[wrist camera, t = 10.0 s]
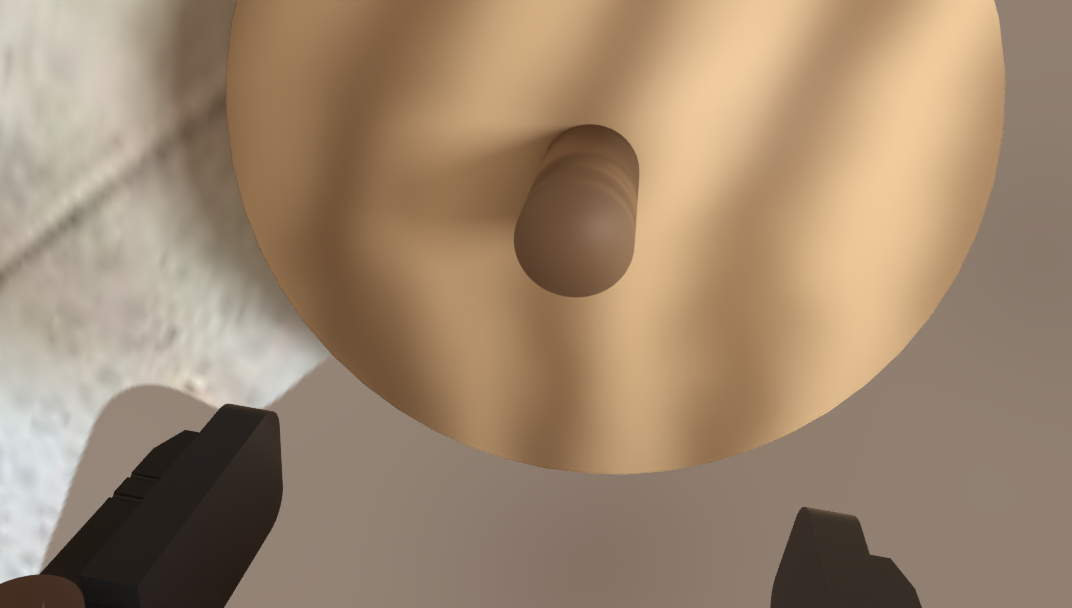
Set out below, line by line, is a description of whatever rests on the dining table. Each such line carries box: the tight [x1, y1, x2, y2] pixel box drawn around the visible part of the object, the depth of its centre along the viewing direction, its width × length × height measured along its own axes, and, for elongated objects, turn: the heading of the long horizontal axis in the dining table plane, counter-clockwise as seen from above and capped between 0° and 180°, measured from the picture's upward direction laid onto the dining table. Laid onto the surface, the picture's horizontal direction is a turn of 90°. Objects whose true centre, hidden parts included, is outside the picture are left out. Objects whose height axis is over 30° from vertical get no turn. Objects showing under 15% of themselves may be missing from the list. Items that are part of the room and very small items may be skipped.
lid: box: [226, 0, 1005, 474], centre depth 24 cm, size 25×25×7 cm
